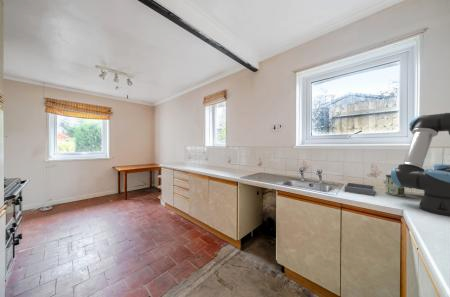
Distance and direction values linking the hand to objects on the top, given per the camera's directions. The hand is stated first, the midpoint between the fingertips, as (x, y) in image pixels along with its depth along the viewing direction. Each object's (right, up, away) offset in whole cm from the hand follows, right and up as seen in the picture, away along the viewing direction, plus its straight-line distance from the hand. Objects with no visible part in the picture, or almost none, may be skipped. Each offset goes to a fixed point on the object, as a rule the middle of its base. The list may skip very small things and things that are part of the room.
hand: (388, 183), depth 128 cm
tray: (-15, -8, +9) cm, 19 cm away
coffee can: (+4, -8, -1) cm, 9 cm away
